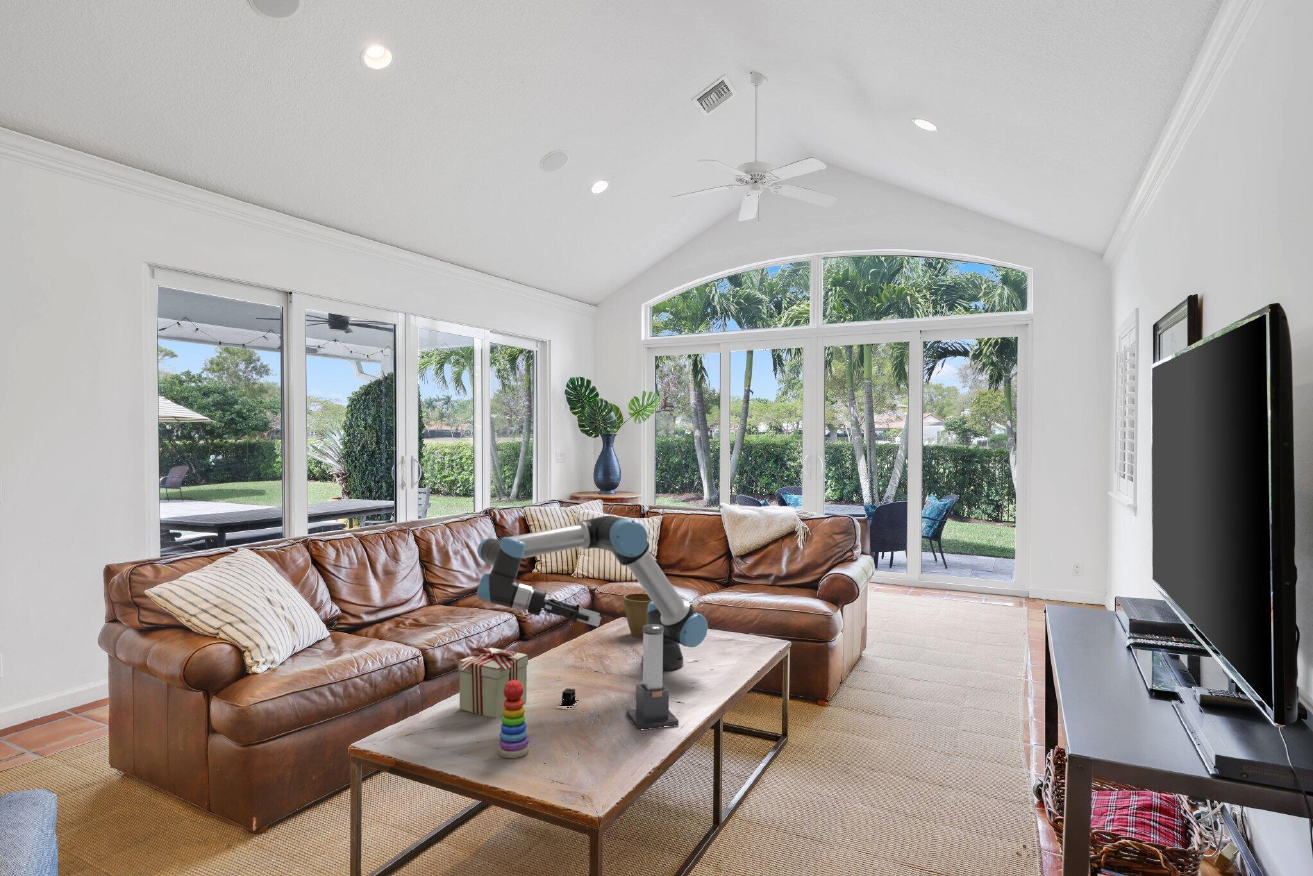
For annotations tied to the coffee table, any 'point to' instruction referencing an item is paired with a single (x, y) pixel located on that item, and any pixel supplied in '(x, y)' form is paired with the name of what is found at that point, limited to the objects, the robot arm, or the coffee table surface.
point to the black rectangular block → (568, 697)
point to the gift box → (490, 679)
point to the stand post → (652, 657)
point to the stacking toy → (513, 723)
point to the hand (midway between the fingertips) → (599, 619)
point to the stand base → (651, 709)
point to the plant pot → (636, 612)
